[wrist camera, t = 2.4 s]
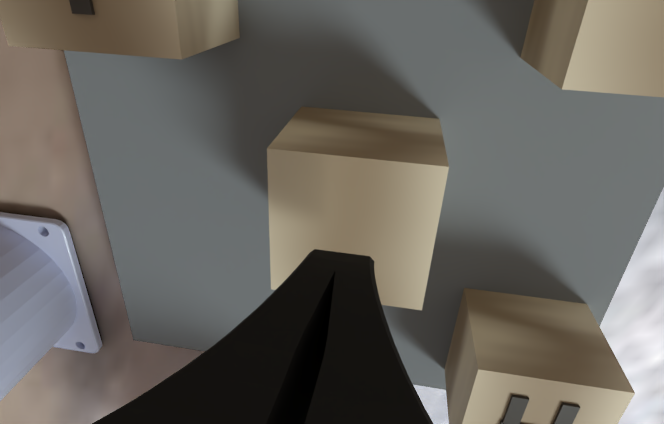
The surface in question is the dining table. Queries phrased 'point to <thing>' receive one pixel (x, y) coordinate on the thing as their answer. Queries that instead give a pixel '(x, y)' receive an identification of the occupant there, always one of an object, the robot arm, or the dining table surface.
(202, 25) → the tan cube
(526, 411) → the block four
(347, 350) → the robot arm
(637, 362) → the dining table surface
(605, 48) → the block seven
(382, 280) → the plain block
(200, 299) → the mat
